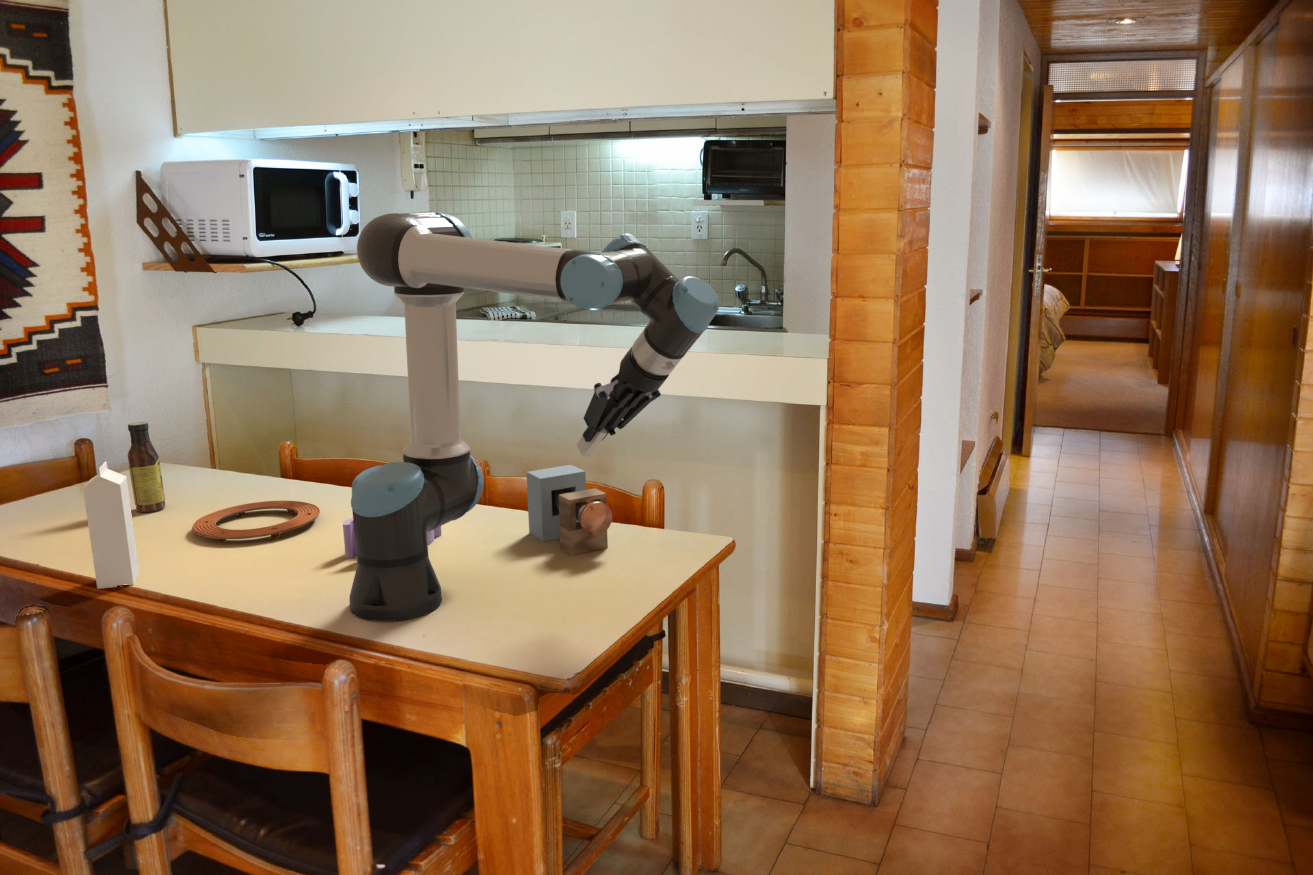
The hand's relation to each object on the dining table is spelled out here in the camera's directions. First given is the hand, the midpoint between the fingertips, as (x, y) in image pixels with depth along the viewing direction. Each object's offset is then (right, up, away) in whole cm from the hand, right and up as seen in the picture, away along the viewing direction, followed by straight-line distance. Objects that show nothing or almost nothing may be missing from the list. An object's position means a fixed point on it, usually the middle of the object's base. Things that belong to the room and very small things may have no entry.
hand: (583, 450), depth 179 cm
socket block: (-8, -17, +34) cm, 39 cm away
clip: (-40, -20, +28) cm, 53 cm away
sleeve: (-2, -19, +24) cm, 31 cm away
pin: (-3, -15, +26) cm, 30 cm away
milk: (-85, -24, +11) cm, 89 cm away
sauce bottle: (-101, -14, +55) cm, 116 cm away
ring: (-72, -17, +42) cm, 85 cm away
